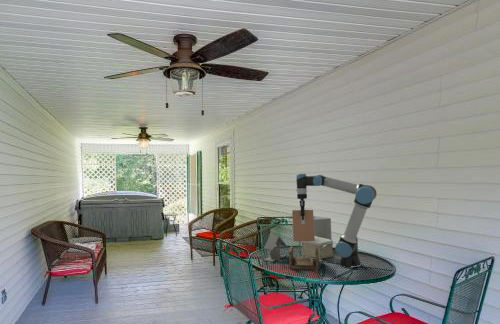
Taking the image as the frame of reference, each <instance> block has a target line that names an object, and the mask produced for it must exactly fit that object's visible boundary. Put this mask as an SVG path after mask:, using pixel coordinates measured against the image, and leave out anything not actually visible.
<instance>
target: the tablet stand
mask: <svg viewBox="0 0 500 324" xmlns="http://www.w3.org/2000/svg"><path fill="white" fill-rule="evenodd" d="M275 245H276V248H275ZM281 247H285V248H286V247H287V244H286V243H285V242H284V240H283V239H282V238H281V237H280V236H279V235H274V234H270V235H269V237H268V239H267V240H266V243H265V245H264V247H263V250H265V251H269V254H270V256H268V257H265V258H264V261H265V262H269V263H276V262H275V261H277V260H280V259H281V258H284V257H286V255H283V254H281ZM274 248H275V249H274Z"/></svg>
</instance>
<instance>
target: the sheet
mask: <svg viewBox="0 0 500 324" xmlns="http://www.w3.org/2000/svg"><path fill="white" fill-rule="evenodd" d="M291 212H292V213H291V214H292V235H293V238H292V239H293V242H301V241H314V219H313V216H314V210H313V209H305V210H304V216H305V224H301V216H300V215H301V209H292V210H291Z"/></svg>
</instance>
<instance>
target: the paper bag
mask: <svg viewBox="0 0 500 324" xmlns="http://www.w3.org/2000/svg"><path fill="white" fill-rule="evenodd" d="M313 219H314V236H316V237H321V238H325V239H329V240H333V238H332V221H331V220H332V218H331V217H325V216H318V215H317V216H314V215H313Z"/></svg>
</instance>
